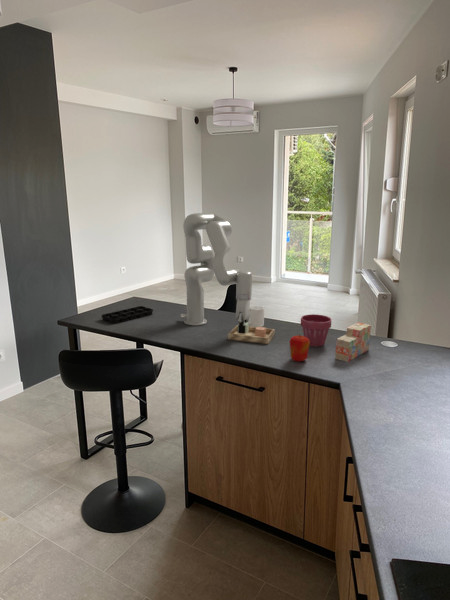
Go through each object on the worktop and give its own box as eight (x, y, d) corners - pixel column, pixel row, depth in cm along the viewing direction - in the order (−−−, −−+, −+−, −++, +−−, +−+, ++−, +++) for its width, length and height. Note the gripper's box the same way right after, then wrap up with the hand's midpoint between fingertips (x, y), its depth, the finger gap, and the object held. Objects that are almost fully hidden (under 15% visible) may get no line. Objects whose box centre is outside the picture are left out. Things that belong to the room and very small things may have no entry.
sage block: (237, 332, 213) (237, 324, 212) (240, 330, 217) (240, 321, 216) (246, 333, 211) (246, 325, 210) (248, 331, 215) (248, 322, 214)
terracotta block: (254, 337, 210) (255, 329, 209) (257, 335, 214) (257, 326, 213) (263, 338, 209) (264, 330, 208) (265, 336, 213) (266, 327, 212)
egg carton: (156, 314, 254) (156, 308, 253) (121, 327, 229) (121, 320, 228) (134, 310, 263) (133, 304, 262) (97, 322, 237) (97, 315, 236)
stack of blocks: (348, 362, 182) (350, 335, 179) (334, 358, 186) (336, 332, 183) (368, 349, 197) (371, 324, 195) (356, 346, 202) (358, 321, 199)
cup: (266, 326, 231) (267, 308, 229) (248, 329, 225) (249, 311, 223) (258, 322, 238) (258, 305, 236) (240, 325, 232) (240, 307, 230)
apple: (297, 365, 178) (299, 338, 175) (284, 358, 185) (285, 332, 182) (312, 361, 183) (314, 335, 180) (299, 355, 189) (300, 329, 187)
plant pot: (295, 345, 202) (297, 319, 198) (303, 337, 214) (305, 312, 211) (326, 350, 196) (328, 323, 193) (332, 341, 208) (334, 316, 205)
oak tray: (228, 339, 209) (228, 333, 208) (236, 330, 223) (236, 325, 222) (267, 344, 203) (268, 338, 202) (274, 334, 217) (274, 329, 216)
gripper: (241, 292, 219) (240, 326, 223) (231, 299, 203) (231, 335, 207) (255, 293, 216) (254, 327, 221) (246, 300, 201) (245, 337, 205)
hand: (243, 331), depth 214 cm, fingers closed on sage block, 4 cm apart
